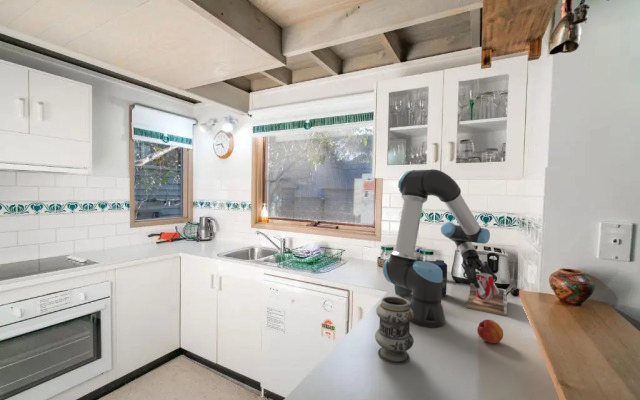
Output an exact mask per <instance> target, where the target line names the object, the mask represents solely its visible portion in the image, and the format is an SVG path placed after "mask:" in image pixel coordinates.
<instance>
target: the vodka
mask: <svg viewBox="0 0 640 400" xmlns="http://www.w3.org/2000/svg"><path fill="white" fill-rule="evenodd" d="M393 285H394V284H393ZM394 293H395V295H398V296H399V297H412V290H410V289H407V288H404V287H401V286H398V285H394Z"/></svg>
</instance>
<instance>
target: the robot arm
mask: <svg viewBox="0 0 640 400" xmlns="http://www.w3.org/2000/svg"><path fill="white" fill-rule="evenodd" d="M397 187H398V191H399V192H400V194H401V195H400V196H401V198H402V200H403V205H402V210H401V215H400V222H399V227H398V232H397V233H398V234H397V237H396V243H395V249H394V251H392V252H391V253H390V257H387V258H386V259H385V261H384V263H383V266H382V273H383V277H384V278H385V280H386V281H387V282H389V283H391V284H393V285H398V286H401V287H404V288H407V289H410V290H412V294H411V300H410V302H409V307H410V308H411V309H412V311H413V312H414V318H413V320H412V321H410V323H413V324H415V325H417V326H419V327H420V326H421V327H427V328H441V327H443V326H445V325H446V315H445V313H444V309H443V305H442V304H443V303H442V297H443V296H442V281H443V275H442V270H441V268H440V267H439V266H437V265H435V264H433V263H430V261H424V260H418V259H417V257H416V256H415V251H416V246H417V241H418V240H417V239H418V233H419V228H420V222H421V216H422V211H423V204H424V203H426V202H427V201H428V196H434V197H436V198H438V199H439V201H440V202H442V203H444V204H445V205H446V207H447V208H448V211H450V213H451V215H452V217H454V219H455V220H456V223H457V224H454V223H453V222H450V221H447V222H444V223H442V225H441V226H440V227H441V228H440V232H441V234H442V235H443V236H444V237H446V238H447V239H449V240H450V241H452V242H454V244H455V245H456V247H457V249H458V251H459V254H460V255H461V258H462V259H463V262H462V263H460V265H461V267H462V268H463V270H464V273H465V276H466V278H467V281H468V282H470V284H474V285H475V287H476V288H477V289H478V291H479V293H480V295H481V296H482V295H484V294H485V291H484V289H483V287H482V285H481V283H480V282H479V280H477V277H478V275H477V271H478V272H479V273H487V274H491V275H492V277H493V279H494V287H493V292H494V294H495V295H497V294H498V293H499V290H498V289H497V288H498V286H497V283H496V281H495V280H496V279H497V276H496V274H494V272H493V270H492V268H491V267H490V266H489V263H488V261H482V260H481V259H480V255H479V254H478V252H477V250H476V248H475V246H474V244H473V243H475V244H483V245H485V244H487V243H488V242H489V241H490V238H491V234H490V230H489V229H488V228H485V227H481V226H480V224H479V223H478V221H477V219H476V218H475V216H474V214H473V213H472V211H471V210H470V208H469V206H468V204H467V203H466V201H465V199H464V197H463V196H462V190H461V188H460V186H459V184H458V183H457V182H456V180H454V179H453V178H452V177H451V176H450V175H449V174H447V173H445V172H444V171H442V170H439V169H435V168H434V169H413V170H407V171H405V172H404V173H402V174H401V175H400V177H399V179H398V185H397ZM476 270H477V271H476Z"/></svg>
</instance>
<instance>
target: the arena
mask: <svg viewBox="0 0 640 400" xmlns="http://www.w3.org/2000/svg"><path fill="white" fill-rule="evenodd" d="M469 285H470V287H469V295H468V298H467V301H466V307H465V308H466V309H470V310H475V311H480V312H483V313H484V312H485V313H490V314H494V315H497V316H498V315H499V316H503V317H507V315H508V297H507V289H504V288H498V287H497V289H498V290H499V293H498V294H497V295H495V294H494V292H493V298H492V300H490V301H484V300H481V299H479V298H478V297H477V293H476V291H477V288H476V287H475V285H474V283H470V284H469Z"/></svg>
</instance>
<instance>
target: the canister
mask: <svg viewBox="0 0 640 400" xmlns="http://www.w3.org/2000/svg"><path fill="white" fill-rule="evenodd" d="M429 262H430V263H433V264H435V265H437V266H439V267H440V268H441V270H442V275H443V281H442V297H444V296H446V295H447V285H448V284H447V283H448V281H447V280H448V264H447V262H445V261H444V262H441V261H436V260H432V261H431V260H430V261H429Z"/></svg>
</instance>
